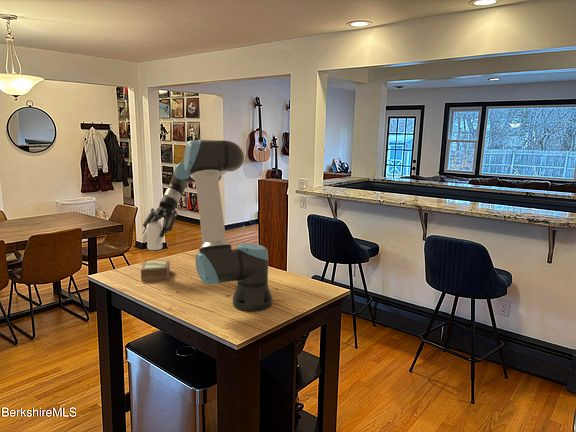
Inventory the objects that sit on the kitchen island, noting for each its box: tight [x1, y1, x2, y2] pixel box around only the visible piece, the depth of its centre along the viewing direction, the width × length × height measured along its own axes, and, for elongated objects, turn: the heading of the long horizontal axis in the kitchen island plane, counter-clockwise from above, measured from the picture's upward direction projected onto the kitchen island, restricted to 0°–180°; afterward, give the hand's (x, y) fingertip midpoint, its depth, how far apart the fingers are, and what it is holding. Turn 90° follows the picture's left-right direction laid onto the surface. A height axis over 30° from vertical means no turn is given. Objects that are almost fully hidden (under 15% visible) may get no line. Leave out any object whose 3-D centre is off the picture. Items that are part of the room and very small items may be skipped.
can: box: [146, 220, 163, 251], centre depth 186 cm, size 6×6×12 cm
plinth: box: [140, 260, 171, 282], centre depth 189 cm, size 13×11×5 cm
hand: (149, 241), depth 184 cm, fingers closed on can, 6 cm apart
